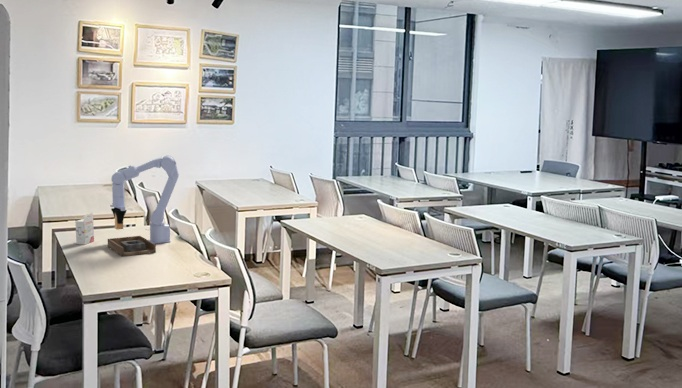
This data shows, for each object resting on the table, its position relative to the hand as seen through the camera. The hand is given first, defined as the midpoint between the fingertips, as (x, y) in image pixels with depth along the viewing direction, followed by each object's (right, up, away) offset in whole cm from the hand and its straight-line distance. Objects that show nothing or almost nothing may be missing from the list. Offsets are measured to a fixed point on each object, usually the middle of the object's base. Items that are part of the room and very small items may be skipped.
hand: (119, 222), depth 344 cm
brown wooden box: (+10, -12, -14) cm, 21 cm away
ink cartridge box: (-16, -10, -2) cm, 19 cm away
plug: (0, -3, 0) cm, 3 cm away
